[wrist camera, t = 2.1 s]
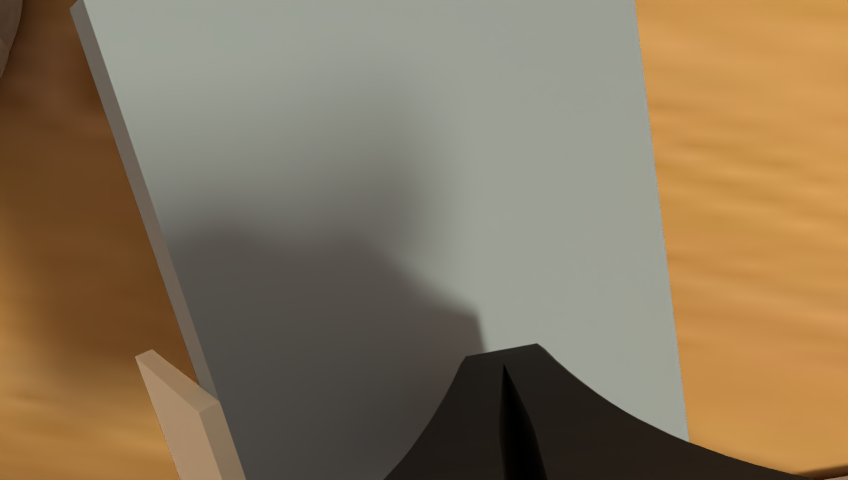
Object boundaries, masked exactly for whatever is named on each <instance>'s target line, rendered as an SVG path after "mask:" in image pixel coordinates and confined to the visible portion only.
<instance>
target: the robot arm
mask: <svg viewBox="0 0 848 480" xmlns="http://www.w3.org/2000/svg"><path fill="white" fill-rule="evenodd" d="M384 480H815V479H810V478H805V477H801V476H797V475H793V474H789V473H785V472H781V471H777V470H773V469H769V468H766V467H762V466H758V465H754V464H751V463H748V462H744V461H741V460H738V459H735V458H731V457H728V456H725V455H722V454H720V453H717V452H714V451H712V450H709V449H706V448H703V447H701V446H698V445H695V444H692V443H690V442H687V441H685V440H683V439H680V438H678V437H675V436H673V435H671V434H669V433H666V432H664V431H662V430H660V429H658V428H656V427H654V426H652V425H650V424H648V423H646V422H644V421H642V420H640V419H638V418H636V417H634V416H633V415H631V414H629V413H627V412H625V411H624V410H622V409H620V408H619V407H617V406H616V405H614V404H613V403H611V402H609V401H608V400H606V399H605V398H604V397H602V396H601V395H599V394H598V393H596V392H595V391H594V390H593V389H591V388H590V387H589V386H587V385H586V384H585V383H583V382H582V381H581V380H579V379H578V378H577V377H576V376H574V375H573V374H572V373H571V372H569V371H568V370H567V369H566V368H565V367H564V366H563V365H561V364H560V363H559V362H558V361H557V360H556V359H555V358H554V357H553V356H552V355H551V354H550V353H549V352H548V351H547V350H546V349H545V348H543V347H542V346H540V345H539V344H538V343H535V344H530V345H524V346H519V347H514V348H508V349H503V350H497V351H492V352H487V353H481V354H476V355H470V356H466V357H465V358H464V360H463V361H462V362H461V364H460V366H459V368H458V371H457V373H456V375H455V377H454V379H453V381H452V383H451V385H450V387H449V389H448V391H447V393H446V395H445V396H444V398H443V400H442V401H441V403H440V405H439V407H438V408H437V410H436V412H435V413H434V415H433V417H432V418H431V420H430V421H429V423H428V424H427V426H426V427H425V429H424V430H423V432H422V433H421V434H420V436H419V437H418V439H417V440H416V442H415V443H414V445H413V446H412V447H411V449H410V450H409V451H408V453H407V454H406V455H405V456H404V458H403V459H402V460H401V461H400V462H399V463H398V464H397V466H396V467H395V468H394V469H393V470H392V471H391V472H390V473H389V474H388V475H387V476H386V478H385V479H384ZM826 480H848V476H845V477H838V478H832V479H826Z"/></svg>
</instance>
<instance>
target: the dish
mask: <svg viewBox="0 0 848 480" xmlns="http://www.w3.org/2000/svg"><path fill="white" fill-rule="evenodd" d="M22 2H23V0H0V77H1V76H2V74H3V72H4V69H5V67H6V64H7V60H8V57H9V51H10V49H11V46H12V43H13V41H14V38H15V36H16V33H17V30H18V25H19V21H20V16H21V9H22Z"/></svg>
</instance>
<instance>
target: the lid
mask: <svg viewBox="0 0 848 480" xmlns="http://www.w3.org/2000/svg"><path fill="white" fill-rule="evenodd" d="M70 12H71V15H72V18H73V21H74V24H75V27H76V30H77V33H78V35H79V38H80V41H81V44H82V47H83V50H84V53H85V56H86V59H87V61H88V64H89V67H90V70H91V73H92V76H93V79H94V82H95V85H96V88H97V90H98V93H99V96H100V99H101V102H102V105H103V108H104V111H105V114H106V116H107V119H108V122H109V125H110V128H111V131H112V134H113V137H114V140H115V142H116V145H117V148H118V151H119V154H120V157H121V160H122V163H123V166H124V168H125V171H126V174H127V177H128V180H129V183H130V186H131V189H132V192H133V194H134V197H135V200H136V203H137V206H138V209H139V212H140V215H141V218H142V221H143V223H144V226H145V229H146V232H147V235H148V238H149V241H150V244H151V247H152V249H153V252H154V255H155V258H156V261H157V264H158V267H159V270H160V273H161V275H162V278H163V281H164V284H165V287H166V290H167V293H168V296H169V299H170V301H171V304H172V307H173V310H174V313H175V316H176V319H177V322H178V325H179V328H180V330H181V333H182V336H183V339H184V342H185V345H186V348H187V351H188V354H189V356H190V359H191V362H192V365H193V368H194V371H195V374H196V377H197V380H198V382H199V385H200V386H199V385H197V384H196V383H195V382H194V381H192V380H191V379H190V378H188V377H187V376H186V375H185V374H183V373H182V372H181V371H179V370H178V369H177V368H176V367H174V366H173V365H172V364H170V363H169V362H168V361H167V360H165V359H164V358H163V357H161V356H160V355H159V354H158V353H156V352H155V351H154V350H153V349H151V350H149V351H146V352H144V353H142V354H139V355H137V356H135V359H136V361H137V364H138V367H139V369H140V372H141V375H142V377H143V380H144V383H145V386H146V388H147V391H148V394H149V396H150V399H151V402H152V404H153V407H154V410H155V413H156V415H157V418H158V421H159V423H160V426H161V429H162V431H163V434H164V437H165V440H166V442H167V445H168V448H169V450H170V453H171V456H172V458H173V461H174V464H175V466H176V469H177V472H178V475H179V477H180V480H384V479H385V478H386V476H387V475H388V474H389V473H390V472H391V471H392V470H393V469H394V468H395V467H396V466H397V464H398V463H399V462H400V461H401V460H402V459H403V458H404V456H405V455H406V454H407V453H408V451H409V450H410V449H411V447H412V446H413V445H414V443H415V442H416V440H417V439H418V437H419V436H420V434H421V433H422V432H423V430H424V429H425V427H426V426H427V424H428V423H429V421H430V420H431V418H432V417H433V415H434V413H435V412H436V410H437V408H438V407H439V405H440V403H441V401H442V400H443V398H444V396H445V395H446V393H447V391H448V389H449V387H450V385H451V383H452V381H453V379H454V377H455V375H456V373H457V371H458V368H459V366H460V364H461V362H462V361H463V360H464V358H465V357H466V356H470V355H476V354H481V353H487V352H492V351H497V350H503V349H508V348H514V347H519V346H524V345H530V344H535V343H538V344H539V345H540V346H542V347H543V348H545V349H546V350H547V351H548V352H549V353H550V354H551V355H552V356H553V357H554V358H555V359H556V360H557V361H558V362H559V363H560V364H561V365H563V366H564V367H565V368H566V369H567V370H568V371H569V372H571V373H572V374H573V375H574V376H576V377H577V378H578V379H579V380H581V381H582V382H583V383H585V384H586V385H587V386H589V387H590V388H591V389H593V390H594V391H595V392H596V393H598V394H599V395H601V396H602V397H604V398H605V399H606V400H608V401H609V402H611V403H613V404H614V405H616V406H617V407H619V408H620V409H622V410H624V411H625V412H627V413H629V414H631V415H633V416H634V417H636V418H638V419H640V420H642V421H644V422H646V423H648V424H650V425H652V426H654V427H656V428H658V429H660V430H662V431H664V432H666V433H669V434H671V435H673V436H675V437H678V438H680V439H683V440H685V441H687V442H689V434H688V426H687V418H686V410H685V402H684V394H683V386H682V378H681V370H680V362H679V354H678V346H677V338H676V330H675V322H674V314H673V305H672V297H671V289H670V281H669V273H668V265H667V257H666V249H665V241H664V233H663V225H662V217H661V209H660V201H659V193H658V185H657V177H656V169H655V161H654V153H653V145H652V137H651V129H650V121H649V113H648V105H647V97H646V89H645V80H644V72H643V64H642V56H641V48H640V40H639V32H638V24H637V16H636V8H635V0H77V1H76V2H75V3H74V5H73V6H72V7H71V8H70Z"/></svg>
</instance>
